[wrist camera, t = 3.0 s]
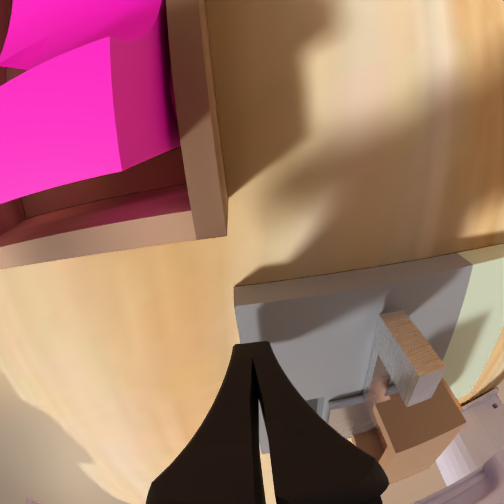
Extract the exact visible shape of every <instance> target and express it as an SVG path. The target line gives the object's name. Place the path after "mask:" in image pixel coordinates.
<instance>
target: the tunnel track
mask: <svg viewBox="0 0 504 504" xmlns="http://www.w3.org/2000/svg"><path fill="white" fill-rule="evenodd" d="M234 308H235V314H236V320H237V326H238V331H239V337H240V343H241V344H243V343H252V342H260V341H268V342H270V345H271V348H272V350H273V353H274V355H275V357H276V359H277V361H278V362H279V364H280V366H281V368H282V369H283V371H284V372H285V374H286V375H287V377H288V379H289V380H290V382H291V383H292V384H293V386H294V387H295V388H296V390H297V391H298V392H299V394H300V395H301V396H302V397H303V399H304V400H305V401H306V402H307V403H308V404H309V405H310V407H311V408H312V409H313V410H314V411H315V412H316V413H317V414H318V415H319V416H320V417H321V418H322V419H323V420H324V421H325V419H326V412H327V405H328V402H332V401H337V400H341V399H345V398H350V397H354V396H358V395H362V394H363V390H364V386H365V382H366V378H367V374H368V370H369V365H370V361H371V356H372V352H373V347H374V346H373V342H374V337H375V331H376V326H377V320H378V314H381V313H385V312H390V311H394V310H398V309H403V310H404V312H405V313H406V314H407V315H408V317H409V318H410V319H411V320H412V322H413V323H414V324H415V326H416V327H417V328H418V330H419V331H420V332H421V333H422V335H423V336H424V337H425V339H426V340H427V341H428V343H429V344H430V345H431V347H432V348H433V350H434V351H435V352H436V354H437V355H438V356H439V358H440V359H441V361H442V362H443V363H444V365H445V366H446V369H445V371H444V373H443V375H442V377H443V379H444V380H445V382H446V383H447V385H448V386H449V388H450V389H451V391H452V392H453V394H454V395H455V397H456V399H458V398H461V397H463V396H465V395H467V394H469V393H470V392H471V391H472V389H473V387H474V385H475V384H476V382H477V380H478V378H479V377H480V375H481V373H482V371H483V369H484V367H485V365H486V363H487V361H488V359H489V357H490V355H491V353H492V351H493V349H494V347H495V345H496V343H497V340H498V338H499V336H500V334H501V331H502V329H503V326H504V243H503V244H499V245H494V246H489V247H484V248H479V249H474V250H469V251H464V252H458V253H453V254H448V255H442V256H437V257H431V258H426V259H420V260H414V261H409V262H403V263H397V264H391V265H385V266H379V267H372V268H366V269H360V270H353V271H347V272H340V273H334V274H327V275H320V276H313V277H306V278H299V279H291V280H284V281H276V282H269V283H261V284H253V285H245V286H237V287H234ZM393 385H395V384H394V382H393V381H392V379H391V378H390V381H389V384H388V387H390V386H393ZM373 412H374V414H375V417H376V419H377V421H378V424H379V426H380V429H381V431H382V434H383V436H384V438H385V441H386V443H387V446H388V447H387V448H386V450H385V451H384V449H383V446H382V444H381V441H380V439H379V436H378V434H377V431H376V429H373V430H369V431H366V432H362V433H359V434H355V435H351V436H347V437H344V438H346V439H348V438H352V441H353V444H354V445H355V446H357V447H358V448H360V449H361V450H363V451H364V452H366V453H368V454H369V455H371V456H373V457H374V458H376V460H377V461H378V462H379V464H380V465H381V467H382V468H383V470H384V472H385V473H386V475H387V477H388V480H389V483H390V484H392V483H395V482H397V481H400V480H402V479H405V478H407V477H410V476H412V475H415V474H417V473H419V472H422V471H424V470H426V469H428V468H429V467H430V466H431V465H432V464H433V463H434V462H435V460H436V459H437V458H438V457H439V456H440V455H441V454H442V452H443V451H444V450H445V449H446V448H447V447H448V445H449V444H450V443H451V442H452V440H453V439H454V438H455V437H456V435H457V434H458V433H459V432H460V430H461V429H462V428H463V426H464V425H465V424H466V420H465V418H464V417H463V415H462V413H461V412H460V410H459V408H458V407H457V405H456V403H455V402H454V400H453V399H452V397H451V395H450V394H449V392H448V391H447V389H446V388H445V386H444V385H443V383H442V381H440V382H439V384H438V386H437V388H436V390H435V392H434V394H433V396H432V398H429V399H427V400H424V401H422V402H419V403H416V404H414V405H411V406H408V407H406V405H405V403H404V401H403V400H402V398H401V396H399V397H396V398H393V399H390V400H387V401H383V402H380V403H377V404H375V405H374V408H373ZM259 442H260V447H261V452H262V454H266V453H270V450H269V442H268V436H267V432H266V428H265V424H264V419H263V415H262V411H261V406H260V402H259Z"/></svg>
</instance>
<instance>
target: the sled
mask: <svg viewBox="0 0 504 504" xmlns="http://www.w3.org/2000/svg"><path fill="white" fill-rule="evenodd" d="M373 346H374V347H373V352H372V356H371V361H370V365H369V370H368V374H367V378H366V382H365V386H364V390H363V394H362V395H358V396H354V397H350V398H345V399H341V400H337V401H332V402H328V405H327V412H326V419H325V422H326V423H328V424H329V425H330V426H331V427H332V428H333V429H335V430H336V431H337V432H338V433H339V434H341V435H342V436H343V437H347V436H351V435H355V434H359V433H362V432H366V431H369V430H373V429H376V431H377V434H378V436H379V439H380V441H381V444H382V446H383V449H384V451H385V450H386V448H387V447H388V446H387V443H386V441H385V438H384V436H383V434H382V431H381V429H380V426H379V424H378V421H377V419H376V417H375V414H374V412H373V408H374V405H375V404H377V403H380V402H383V401H387V400H390V399H393V398H396V397H399V396H401V398H402V400H403V401H404V403H405V405H406V407H408V406H411V405H414V404H416V403H419V402H422V401H424V400H427V399H429V398H432V396H433V394H434V392H435V390H436V388H437V386H438V384H439V382H440V381H442V383H443V385H444V386H445V388H446V389H447V391H448V392H449V394H450V395H451V397H452V399H453V400H454V402H455V403H456V405H457V407H458V408H459V410H460V412H462V411H463V408H462V407H461V405H460V403H459V402H458V400H457V399H456V397H455V395H454V394H453V392H452V391H451V389H450V388H449V386H448V385H447V383H446V382H445V380H444V379H443V377H442V375H443V373H444V371H445V369H446V366H445V365H444V363H443V362H442V361H441V359H440V358H439V356H438V355H437V354H436V352H435V351H434V350H433V348H432V347H431V345H430V344H429V343H428V341H427V340H426V339H425V337H424V336H423V335H422V333H421V332H420V331H419V330H418V328H417V327H416V326H415V324H414V323H413V322H412V320H411V319H410V318H409V317H408V315H407V314H406V313H405V312H404V310H403V309H398V310H394V311H390V312H385V313H381V314H378V320H377V326H376V331H375V337H374V342H373ZM390 378H391V379H392V381H393V382H394V384H395V385H393V386H390V387H388V384H389V381H390Z"/></svg>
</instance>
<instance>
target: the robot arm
mask: <svg viewBox="0 0 504 504" xmlns="http://www.w3.org/2000/svg"><path fill="white" fill-rule="evenodd" d="M498 391H499V389H498V387H496V388H495V389H493V390H491V391H490V392H488V393H486V394H484V395H483V396H481V397H479V398H477V399H475V400H473V401H471V402H470V403H468V404H466V405H464V406H462V408H463V411H462V412H461V413H462V415H463V417H464V418H465V420H466V424H465V425H464V426H463V428H462V429H461V430H460V432H459V433H458V434H457V435H456V437H455V438H454V439H453V440H452V442H451V443H450V444H449V445H448V447H447V448H446V449H445V450H444V451H443V452H442V454H441V455H440V456H439V457H438V458H437V459H436V460H435V461H436V463H437V465H438V467H439V470H440V472H441V474H442V476H443V479H444V481H445V483H446V485H447V487H445V488H444V489H442V490H440V491H438V492H436V493H434V494H431V495H429V496H427V497H425V498H423V499H421V500H419V501H416V502H414V503H412V504H504V405H503V403H502V402H501V400H500V399H499V397H498V396H497V395H496V394H497V392H498ZM259 402H260V406H261V411H262V415H263V419H264V424H265V428H266V432H267V436H268V442H269V450H270V458H271V466H272V474H273V482H274V491H275V498H276V503H277V504H382V500H381V497H380V495H381V494H382V493H383V492H384V491H385V490H386V489H387V487H388V485H389V484H390V483H389V480H388V477H387V475H386V473H385V472H384V470H383V468H382V467H381V465H380V464H379V462H378V461H377V460H376V458H374V457H373V456H371V455H369V454H368V453H366V452H364V451H363V450H361V449H360V448H358V447H357V446H355V445H354V444H352V443H351V442H350V441H348V440H347V439H346V438H344V437H343V436H342V435H341V434H339V433H338V432H337V431H336V430H335V429H333V428H332V427H331V426H330V425H329V424H328V423H326V422H325V421H324V420H323V419H322V418H321V417H320V416H319V415H318V414H317V413H316V412H315V411H314V410H313V409H312V408H311V407H310V405H309V404H308V403H307V402H306V401H305V400H304V399H303V397H302V396H301V395H300V394H299V392H298V391H297V390H296V388H295V387H294V386H293V384H292V383H291V382H290V380H289V379H288V377H287V375H286V374H285V372H284V371H283V369H282V368H281V366H280V364H279V362H278V361H277V359H276V357H275V355H274V353H273V350H272V348H271V345H270V342H268V341H260V342H252V343H243V344H235V345H234V346H233V350H232V355H231V359H230V363H229V366H228V369H227V372H226V375H225V378H224V380H223V383H222V386H221V388H220V390H219V392H218V394H217V397H216V399H215V401H214V403H213V405H212V407H211V409H210V411H209V413H208V414H207V416H206V418H205V419H204V421H203V423H202V424H201V426H200V427H199V429H198V430H197V432H196V433H195V435H194V436H193V438H192V439H191V441H190V442H189V443H188V445H187V446H186V447H185V448H184V449H183V451H182V452H181V453H180V454H179V455H178V457H177V458H176V459H175V460H174V461H173V462H172V463H171V464H170V466H168V467H167V468H166V469H165V470H164V471H163V472H162V473H161V474H160V475H159V476H158V477H157V478H156V479H155V480H154V481H153V482H152V484H151V486H150V489H149V492H148V496H147V500H146V504H266V501H265V493H264V486H263V477H262V469H261V460H260V450H259ZM25 504H42V503H40V502H38V501H35V500H33V499H31V498H29V497H28V498H26V502H25Z"/></svg>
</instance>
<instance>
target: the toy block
mask: <svg viewBox="0 0 504 504" xmlns="http://www.w3.org/2000/svg"><path fill="white" fill-rule="evenodd" d="M0 67H9V68H17V69H24V70H27V71H26V72H24V73H22V74H20V75H19V76H17V77H15V78H13V79H12V80H10V81H8V82H6V83H5V84H3V85H1V86H0V204H2V203H5V202H8V201H11V200H14V199H17V198H20V197H23V196H26V195H30V194H33V193H36V192H40V191H43V190H47V189H50V188H54V187H57V186H61V185H65V184H69V183H73V182H77V181H81V180H85V179H89V178H93V177H98V176H102V175H107V174H111V173H116V172H121V171H124V170H126V169H128V168H130V167H132V166H135V165H137V164H139V163H141V162H144V161H146V160H148V159H151V158H153V157H155V156H158V155H160V154H162V153H165V152H167V151H170V150H172V149H175V148H177V147H180V146H181V143H180V136H179V129H178V121H177V113H176V105H175V97H174V88H173V79H172V70H171V60H170V49H169V37H168V24H167V10H166V0H13V6H12V13H11V20H10V24H9V29H8V33H7V37H6V40H5V44H4V47H3V50H2V53H1V55H0Z"/></svg>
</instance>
